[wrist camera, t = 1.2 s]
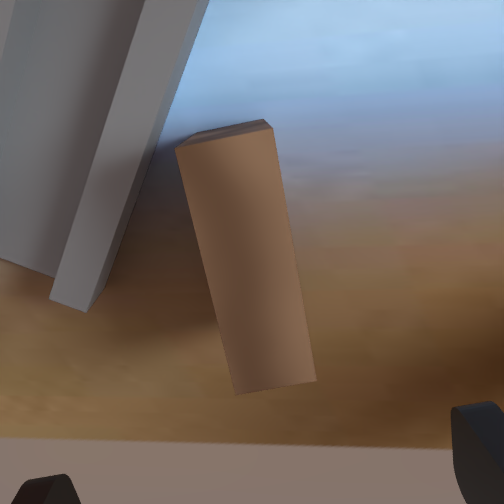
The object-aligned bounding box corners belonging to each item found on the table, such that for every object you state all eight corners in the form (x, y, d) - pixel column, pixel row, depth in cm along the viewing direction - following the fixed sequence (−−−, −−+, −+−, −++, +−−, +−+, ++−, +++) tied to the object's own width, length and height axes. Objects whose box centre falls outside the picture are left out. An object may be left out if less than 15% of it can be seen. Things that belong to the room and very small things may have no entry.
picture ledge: (250, -114, 22) (252, -151, 19) (104, 288, 29) (86, 312, 26) (55, -221, 21) (19, -282, 17) (-50, 230, 28) (-90, 248, 24)
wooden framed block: (263, 118, 26) (272, 128, 17) (295, 300, 30) (316, 380, 21) (193, 133, 26) (169, 149, 18) (235, 311, 30) (231, 395, 21)
